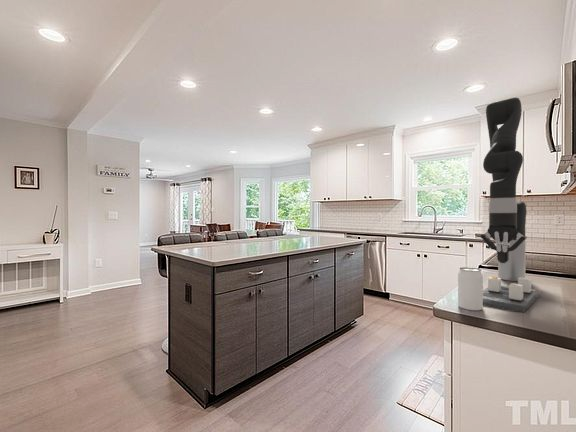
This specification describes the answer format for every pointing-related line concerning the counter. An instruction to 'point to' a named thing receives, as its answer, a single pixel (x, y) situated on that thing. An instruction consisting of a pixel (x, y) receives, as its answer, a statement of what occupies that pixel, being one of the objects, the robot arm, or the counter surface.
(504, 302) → the panel
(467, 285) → the can
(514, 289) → the block
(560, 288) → the counter surface
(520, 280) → the block
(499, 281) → the block
